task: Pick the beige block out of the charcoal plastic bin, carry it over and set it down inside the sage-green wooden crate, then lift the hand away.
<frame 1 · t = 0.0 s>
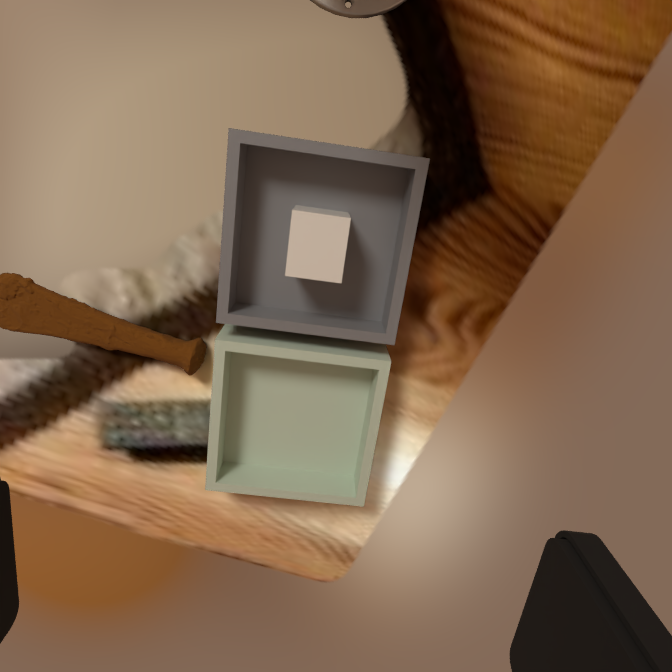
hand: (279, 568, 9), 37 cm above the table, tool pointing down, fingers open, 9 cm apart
charcoal bin: (318, 236, 43), on the table
beige block: (318, 238, 42), point 1 cm above the table, touching charcoal bin
sage crate: (297, 405, 48), on the table
primitive tool: (102, 326, 46), on the table
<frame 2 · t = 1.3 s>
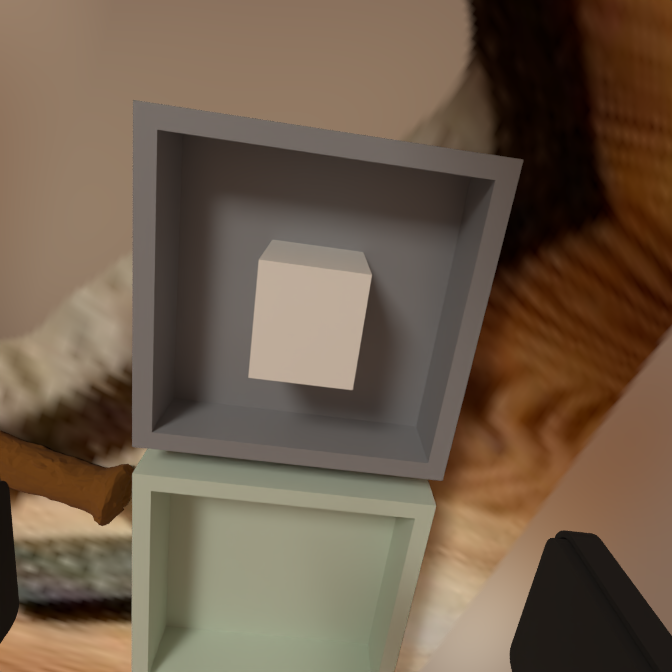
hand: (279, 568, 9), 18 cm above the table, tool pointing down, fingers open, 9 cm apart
charcoal bin: (312, 290, 26), on the table
beige block: (311, 295, 25), point 1 cm above the table, touching charcoal bin
sage crate: (279, 543, 31), on the table
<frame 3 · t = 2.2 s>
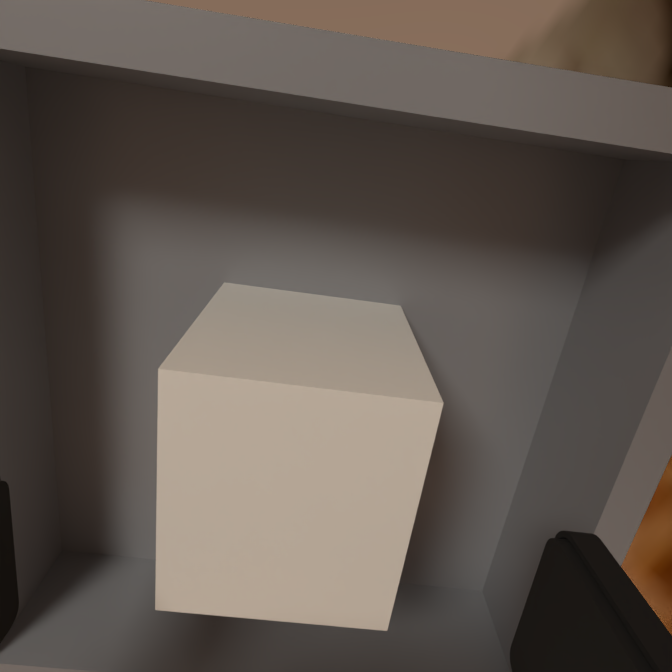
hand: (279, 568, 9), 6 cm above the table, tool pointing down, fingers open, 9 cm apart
charcoal bin: (303, 368, 14), on the table
beige block: (301, 383, 13), point 1 cm above the table, touching charcoal bin
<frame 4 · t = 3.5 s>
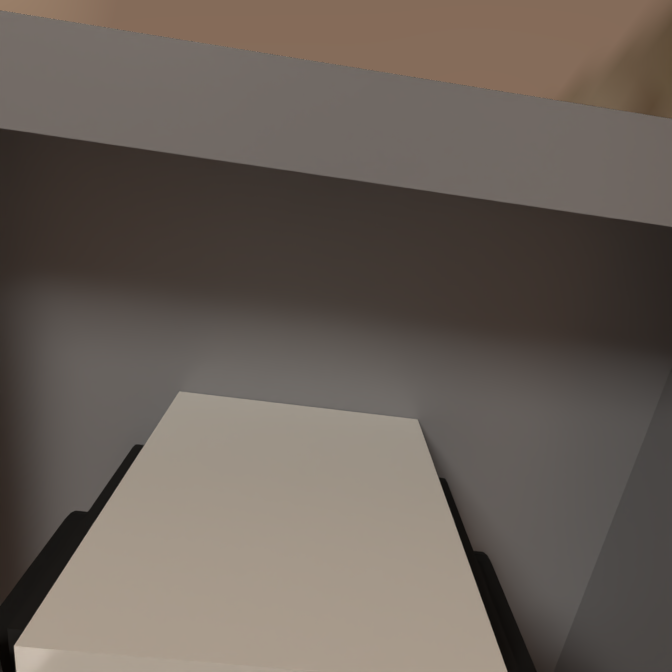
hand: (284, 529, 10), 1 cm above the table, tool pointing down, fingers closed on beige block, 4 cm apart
charcoal bin: (289, 485, 11), on the table
beige block: (285, 516, 10), point 1 cm above the table, touching charcoal bin, gripper
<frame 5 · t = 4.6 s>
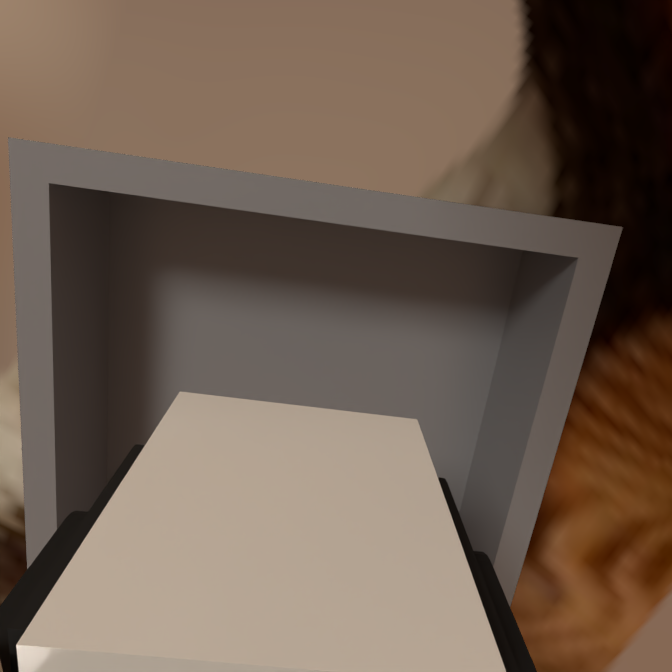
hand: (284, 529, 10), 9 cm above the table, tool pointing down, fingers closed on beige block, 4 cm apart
charcoal bin: (299, 394, 18), on the table
beige block: (285, 516, 10), point 9 cm above the table, touching gripper
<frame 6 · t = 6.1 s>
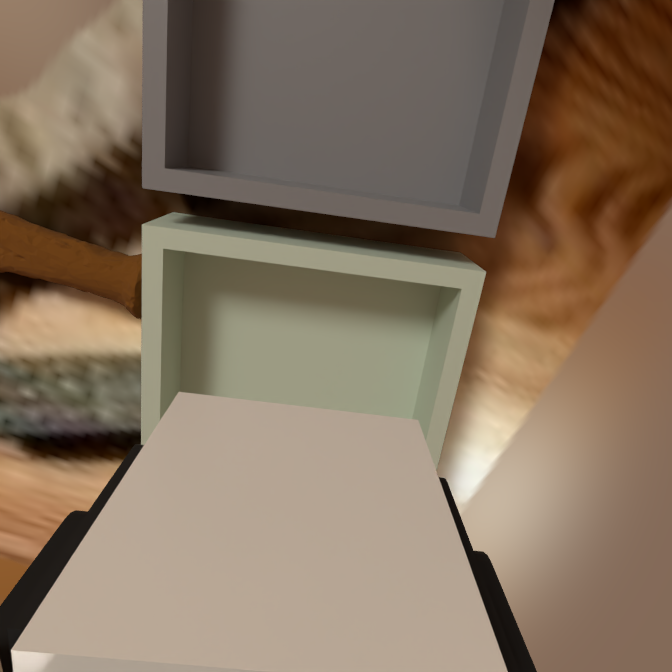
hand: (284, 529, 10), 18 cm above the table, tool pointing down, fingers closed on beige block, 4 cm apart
charcoal bin: (344, 34, 22), on the table
beige block: (285, 517, 10), point 18 cm above the table, touching gripper
sage crate: (302, 364, 28), on the table
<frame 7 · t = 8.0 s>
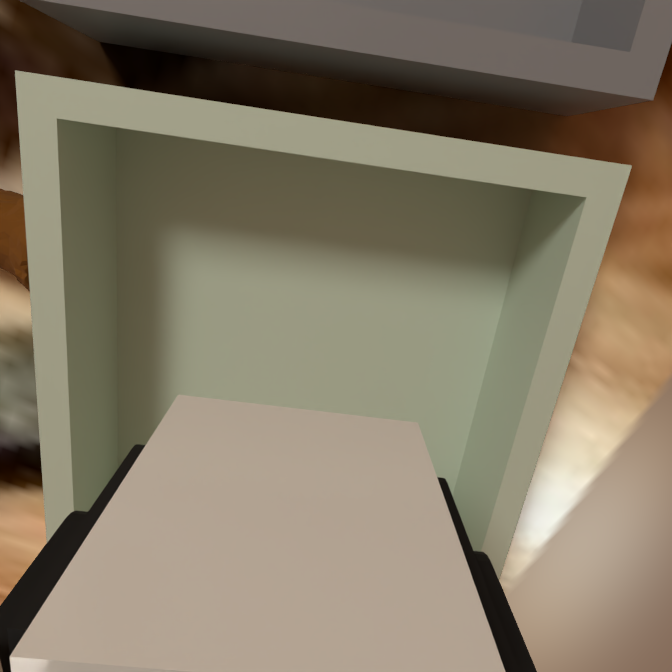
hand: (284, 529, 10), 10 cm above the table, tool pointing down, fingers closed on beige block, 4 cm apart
beige block: (285, 520, 10), point 9 cm above the table, touching gripper
sage crate: (306, 343, 19), on the table
when the fingers open (3 cm above the table, at t = 9.9 s): beige block drops 2 cm, resting on sage crate.
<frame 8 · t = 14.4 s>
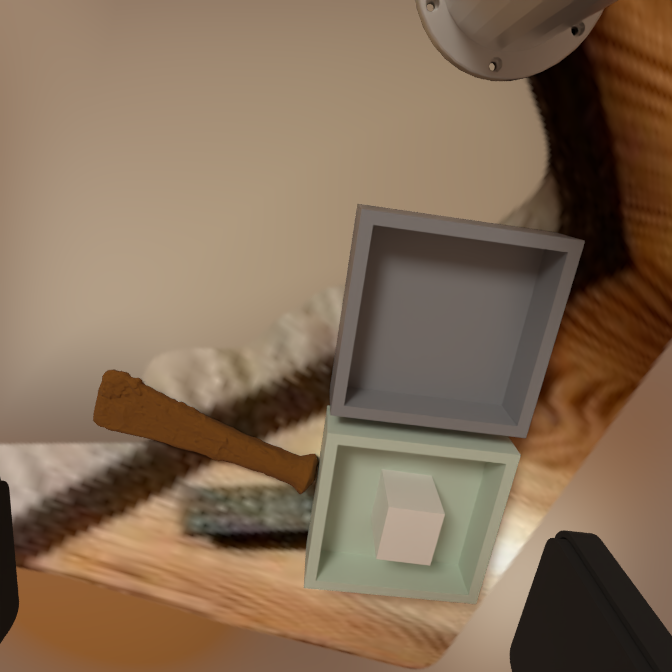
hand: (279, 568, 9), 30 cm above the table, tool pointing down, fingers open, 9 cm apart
charcoal bin: (436, 314, 39), on the table
beige block: (400, 496, 43), point 1 cm above the table, touching sage crate
sage crate: (399, 490, 44), on the table
primitive tool: (206, 430, 43), on the table
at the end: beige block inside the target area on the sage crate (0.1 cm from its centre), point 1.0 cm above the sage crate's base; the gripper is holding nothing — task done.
